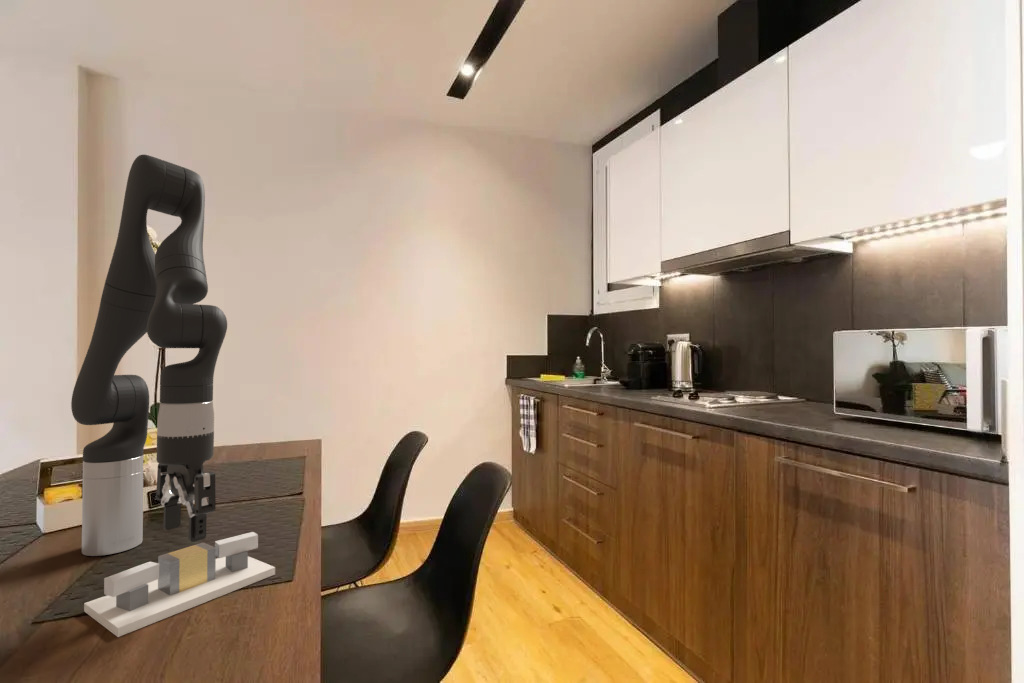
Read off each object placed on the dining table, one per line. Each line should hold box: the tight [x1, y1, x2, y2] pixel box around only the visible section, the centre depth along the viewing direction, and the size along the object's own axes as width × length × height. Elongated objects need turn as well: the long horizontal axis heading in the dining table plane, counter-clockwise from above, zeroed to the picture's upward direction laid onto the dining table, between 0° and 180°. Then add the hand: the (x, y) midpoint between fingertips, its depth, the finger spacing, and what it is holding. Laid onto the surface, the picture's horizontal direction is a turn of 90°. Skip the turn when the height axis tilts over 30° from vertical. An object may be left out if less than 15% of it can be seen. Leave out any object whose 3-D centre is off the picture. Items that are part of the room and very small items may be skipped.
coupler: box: [157, 542, 217, 596], centre depth 78 cm, size 4×6×5 cm, turn 147°
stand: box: [83, 531, 276, 638], centre depth 78 cm, size 12×22×6 cm, turn 147°
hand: (184, 533), depth 78 cm, fingers open, 8 cm apart
